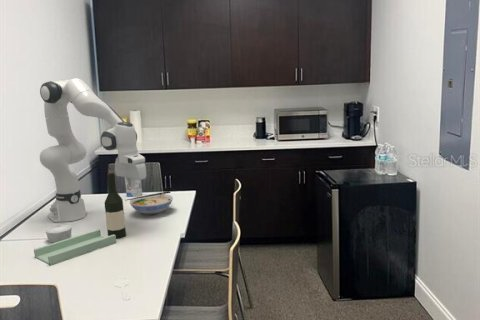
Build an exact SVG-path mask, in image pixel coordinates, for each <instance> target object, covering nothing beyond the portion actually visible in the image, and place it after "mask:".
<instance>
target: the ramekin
mask: <svg viewBox="0 0 480 320" xmlns="http://www.w3.org/2000/svg"><path fill="white" fill-rule="evenodd" d="M45 234H46V236H47V240H48V242H50V243H51V244H52V243H55V242H59V241H62V240H65V239H68V238H72V226H71V225H69V224H61V225H60V224H59V225H54V226H51V227H48V228H47V229H46V230H45Z"/></svg>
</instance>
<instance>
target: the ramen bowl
mask: <svg viewBox="0 0 480 320" xmlns="http://www.w3.org/2000/svg"><path fill="white" fill-rule="evenodd" d="M170 194H171V191H169V190H167V191H162V192H161V191H160V192H157V193H150V194H142V195H141V196H138V197H131V198H129V199H127V198H126V201H129V204H130V206H131V207H132V208H133V209H134V210H135V211H136V212H138V213H141V214H145V215H147V216H148V215H151V216H153V215H157V214H160V213H161V212H163V211H166V209H168V207H170V205H171V203H172V202H173V200H174V196H172V195H170Z"/></svg>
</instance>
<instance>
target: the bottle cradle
mask: <svg viewBox="0 0 480 320" xmlns="http://www.w3.org/2000/svg"><path fill="white" fill-rule="evenodd" d="M113 244H117V239H116V235H111V236H108V235H107V236H103V235H102V233H101V229H99V228H98V229H94V230H92V231H87V232H85V233H82V234H78V235H76V236H71V238H68V239H65V240H62V241H59V242H55V243H52V242H51V243H50V244H47V245H46V244H45V245H43V246H40V247H37V248H34V249H33V252H34V258H36V259H37V260H40V261H41V262H44V263H45V264H47V265H49V266H53V265H56V264H59V263H62V262H64V261H68V260H70V259H74V258H76V257H80V256H83V255H86V254H87V253H91V252H93V251H96V250H100V249H102V248H106V247H108V246H111V245H113Z"/></svg>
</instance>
